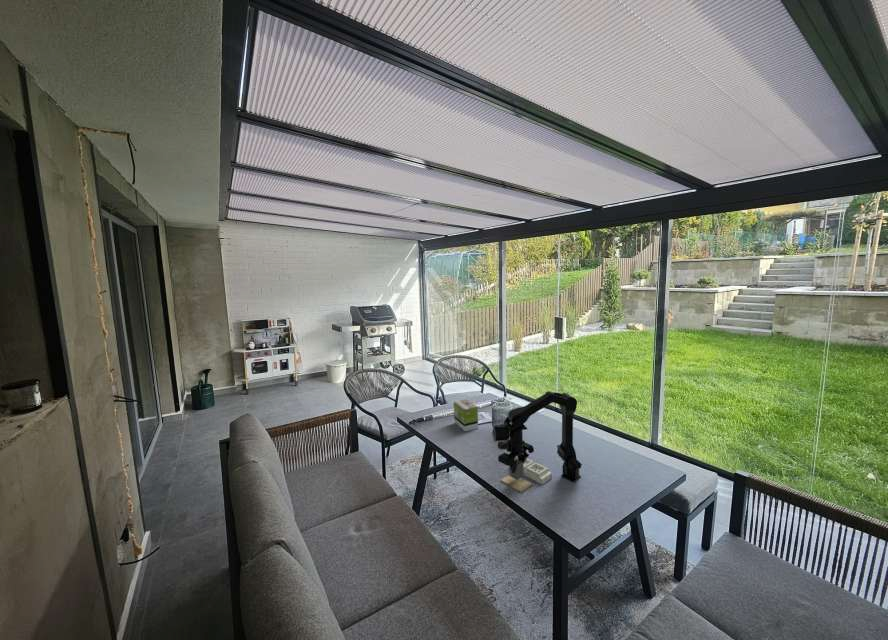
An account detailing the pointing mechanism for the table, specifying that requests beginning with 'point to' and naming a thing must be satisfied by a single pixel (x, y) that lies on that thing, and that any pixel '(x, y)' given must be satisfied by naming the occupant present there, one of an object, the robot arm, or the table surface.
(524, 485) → the cork pad
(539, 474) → the power strip
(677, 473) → the table surface
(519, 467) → the block
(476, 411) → the tea box
